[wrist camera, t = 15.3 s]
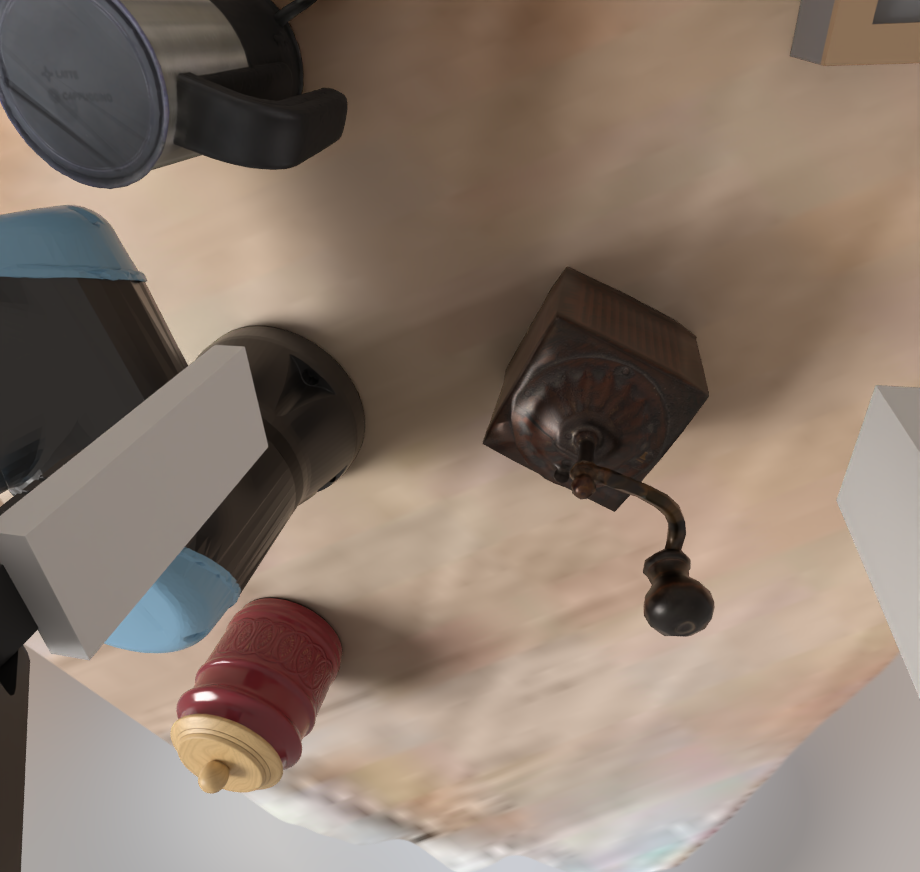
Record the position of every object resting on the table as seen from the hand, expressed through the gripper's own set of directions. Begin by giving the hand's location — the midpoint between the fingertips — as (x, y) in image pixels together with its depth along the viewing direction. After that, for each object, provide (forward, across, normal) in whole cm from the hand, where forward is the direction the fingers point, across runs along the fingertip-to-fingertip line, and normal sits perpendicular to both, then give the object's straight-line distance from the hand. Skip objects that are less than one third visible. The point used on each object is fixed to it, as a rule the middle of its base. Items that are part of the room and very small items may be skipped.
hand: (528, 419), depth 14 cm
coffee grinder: (+32, -3, +15) cm, 35 cm away
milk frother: (+32, +20, -9) cm, 39 cm away
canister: (+32, +30, +50) cm, 67 cm away
